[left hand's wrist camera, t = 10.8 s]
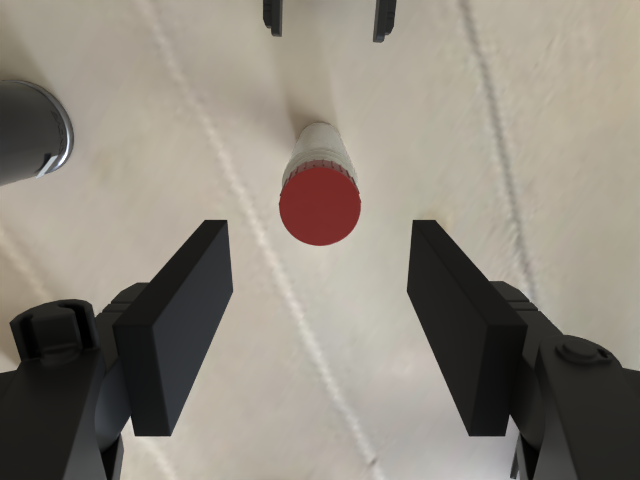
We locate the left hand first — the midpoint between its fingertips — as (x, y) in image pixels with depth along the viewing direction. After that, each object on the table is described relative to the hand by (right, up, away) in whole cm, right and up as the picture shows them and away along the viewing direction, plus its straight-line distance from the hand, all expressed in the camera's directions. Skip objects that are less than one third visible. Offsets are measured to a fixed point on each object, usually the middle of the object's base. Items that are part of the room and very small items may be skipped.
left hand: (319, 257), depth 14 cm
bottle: (0, +11, +29) cm, 30 cm away
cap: (0, +2, +6) cm, 7 cm away
